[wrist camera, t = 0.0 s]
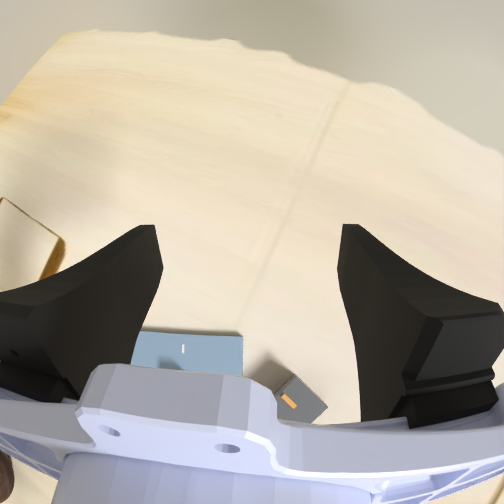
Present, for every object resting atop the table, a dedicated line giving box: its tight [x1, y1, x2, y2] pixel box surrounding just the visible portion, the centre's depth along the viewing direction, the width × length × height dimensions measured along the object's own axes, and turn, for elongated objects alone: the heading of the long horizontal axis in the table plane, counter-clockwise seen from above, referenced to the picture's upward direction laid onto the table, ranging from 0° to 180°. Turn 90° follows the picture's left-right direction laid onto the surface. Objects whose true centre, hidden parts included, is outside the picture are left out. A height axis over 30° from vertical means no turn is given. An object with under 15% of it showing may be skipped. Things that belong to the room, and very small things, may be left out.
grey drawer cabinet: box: [273, 375, 328, 424], centre depth 38 cm, size 6×6×4 cm
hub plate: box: [130, 331, 243, 376], centre depth 40 cm, size 13×16×4 cm
